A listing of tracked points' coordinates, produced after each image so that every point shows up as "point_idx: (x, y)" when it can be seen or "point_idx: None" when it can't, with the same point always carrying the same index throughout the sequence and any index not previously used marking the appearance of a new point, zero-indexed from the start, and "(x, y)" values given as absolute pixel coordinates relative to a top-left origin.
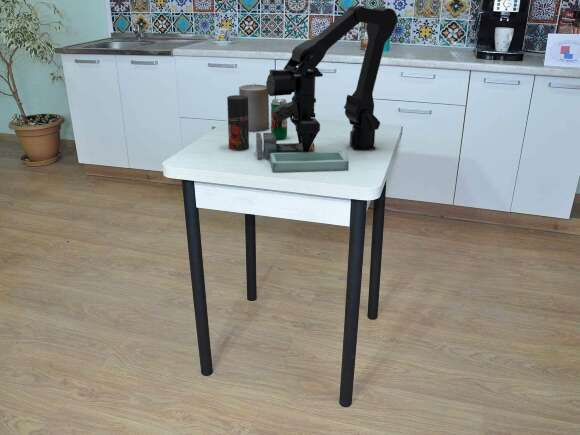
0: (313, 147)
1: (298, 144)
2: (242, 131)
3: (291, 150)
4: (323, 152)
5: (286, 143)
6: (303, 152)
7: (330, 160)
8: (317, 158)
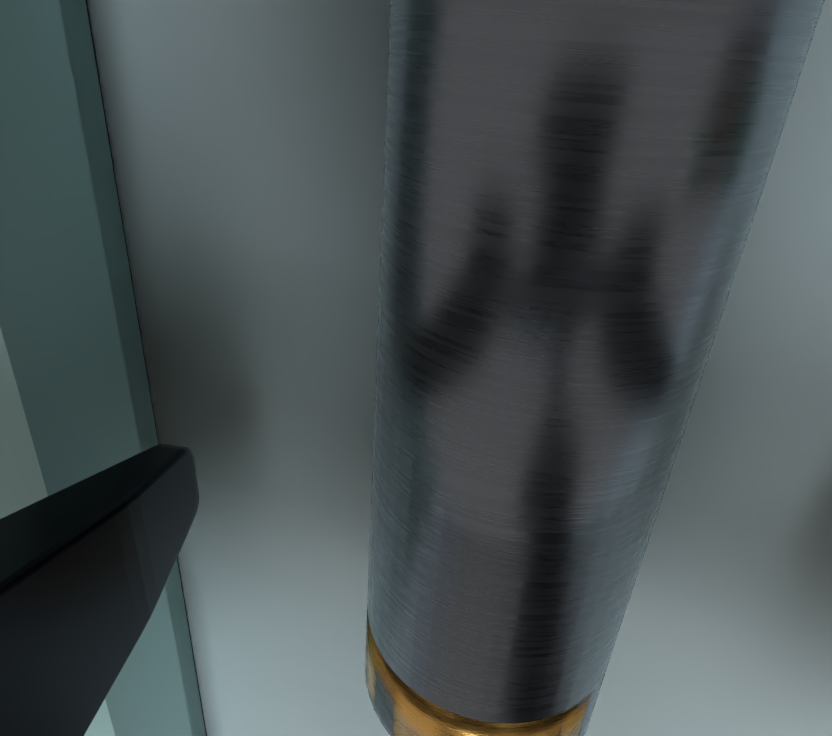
0: (368, 688)
1: (452, 496)
2: None
3: (383, 229)
4: None
5: (630, 141)
6: (14, 436)
7: None
8: None
